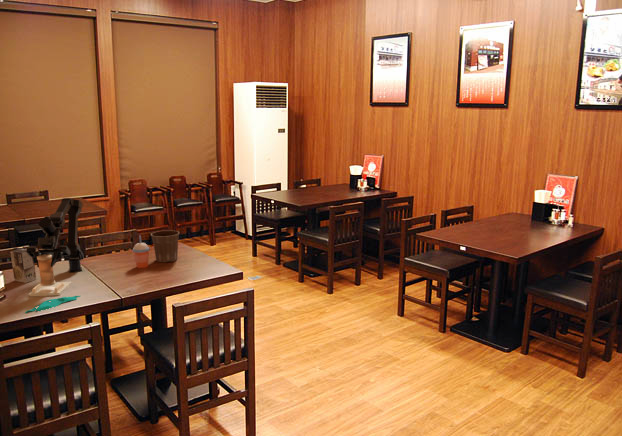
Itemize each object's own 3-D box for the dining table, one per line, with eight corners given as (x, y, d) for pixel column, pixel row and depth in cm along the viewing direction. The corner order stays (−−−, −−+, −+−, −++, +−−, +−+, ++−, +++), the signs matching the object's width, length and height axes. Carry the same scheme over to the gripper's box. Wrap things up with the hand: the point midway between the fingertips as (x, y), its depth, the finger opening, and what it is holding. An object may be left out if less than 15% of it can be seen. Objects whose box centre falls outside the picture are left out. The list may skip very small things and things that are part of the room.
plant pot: (159, 255, 308) (158, 229, 305) (185, 256, 306) (183, 230, 302) (147, 263, 292) (145, 236, 289) (174, 264, 290) (172, 236, 287)
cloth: (78, 294, 246) (77, 289, 245) (88, 301, 236) (87, 297, 235) (18, 308, 228) (17, 303, 228) (26, 317, 218) (25, 312, 218)
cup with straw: (145, 269, 281) (143, 237, 277) (130, 268, 283) (128, 237, 279) (153, 264, 290) (151, 233, 286) (139, 263, 292) (136, 233, 288)
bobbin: (49, 280, 250) (45, 253, 246) (58, 282, 247) (54, 255, 244) (37, 285, 244) (33, 257, 241) (47, 287, 242) (43, 259, 238)
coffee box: (37, 279, 265) (33, 249, 262) (25, 283, 260) (21, 252, 256) (25, 277, 269) (21, 247, 266) (13, 280, 263) (9, 250, 260)
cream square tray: (43, 284, 257) (42, 278, 256) (72, 284, 258) (71, 278, 257) (29, 296, 241) (28, 289, 240) (59, 295, 242) (58, 288, 242)
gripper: (25, 230, 243) (17, 259, 235) (65, 229, 245) (58, 258, 236) (34, 242, 253) (27, 270, 244) (73, 241, 254) (67, 269, 246)
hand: (44, 266), depth 242 cm, fingers closed on bobbin, 6 cm apart
